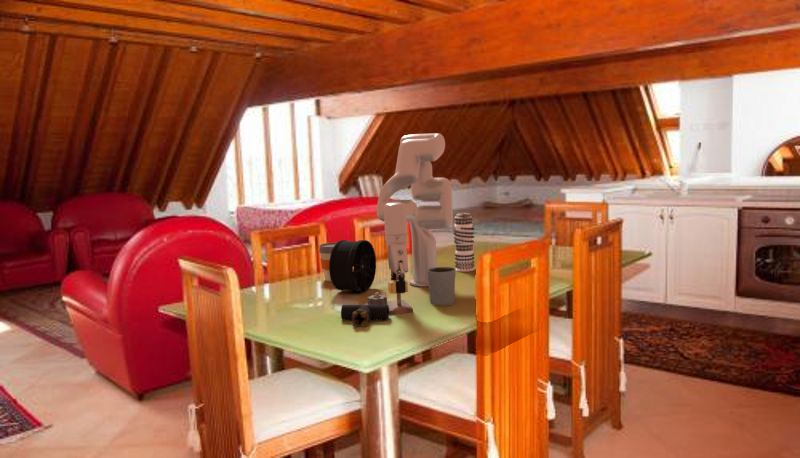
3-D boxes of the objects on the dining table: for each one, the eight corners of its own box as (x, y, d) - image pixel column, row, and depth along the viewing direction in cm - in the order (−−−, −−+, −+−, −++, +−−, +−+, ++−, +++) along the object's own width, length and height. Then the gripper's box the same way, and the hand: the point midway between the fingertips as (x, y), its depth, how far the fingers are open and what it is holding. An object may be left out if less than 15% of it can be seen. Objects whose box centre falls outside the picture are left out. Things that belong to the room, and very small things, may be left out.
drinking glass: (437, 307, 220) (436, 273, 218) (422, 301, 229) (421, 268, 227) (462, 303, 225) (461, 269, 223) (447, 297, 234) (445, 265, 232)
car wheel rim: (354, 297, 241) (351, 244, 238) (330, 295, 245) (327, 244, 242) (377, 285, 259) (374, 236, 256) (355, 284, 263) (352, 236, 260)
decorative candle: (479, 268, 285) (477, 212, 281) (469, 272, 277) (468, 214, 274) (460, 266, 290) (458, 212, 286) (451, 270, 282) (449, 214, 278)
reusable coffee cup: (315, 281, 271) (313, 246, 269) (329, 275, 283) (327, 242, 281) (341, 282, 267) (339, 247, 265) (355, 276, 278) (353, 242, 276)
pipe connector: (382, 311, 199) (335, 311, 201) (382, 328, 199) (336, 327, 202) (388, 303, 210) (344, 303, 212) (389, 318, 210) (345, 318, 213)
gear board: (403, 303, 228) (403, 286, 227) (413, 311, 216) (412, 294, 215) (365, 307, 225) (364, 289, 224) (372, 316, 212) (371, 298, 212)
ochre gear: (405, 289, 224) (404, 279, 224) (409, 292, 218) (409, 282, 217) (387, 290, 223) (386, 280, 222) (391, 294, 216) (390, 284, 216)
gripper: (413, 241, 210) (415, 294, 213) (400, 235, 227) (402, 284, 229) (391, 243, 209) (393, 296, 211) (380, 236, 225) (382, 286, 228)
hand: (398, 290), depth 220 cm, fingers closed on ochre gear, 6 cm apart
